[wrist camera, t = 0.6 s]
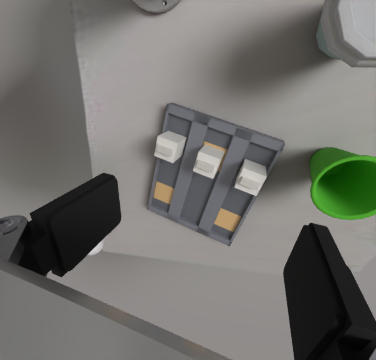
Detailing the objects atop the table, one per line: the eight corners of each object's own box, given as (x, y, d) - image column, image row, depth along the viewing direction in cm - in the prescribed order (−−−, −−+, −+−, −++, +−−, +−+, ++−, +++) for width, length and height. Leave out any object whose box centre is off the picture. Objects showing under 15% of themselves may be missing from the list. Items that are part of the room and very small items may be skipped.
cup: (314, 193, 36) (334, 230, 27) (286, 156, 35) (296, 181, 26) (370, 167, 32) (417, 200, 22) (340, 123, 30) (376, 140, 21)
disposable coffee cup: (418, -11, 23) (625, -137, 10) (354, 86, 28) (433, 85, 15) (328, -32, 24) (405, -164, 11) (283, 63, 30) (301, 46, 17)
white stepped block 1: (164, 148, 40) (152, 157, 36) (168, 130, 38) (155, 136, 34) (181, 155, 40) (171, 164, 35) (186, 137, 38) (176, 144, 33)
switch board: (152, 204, 51) (147, 209, 48) (172, 102, 38) (167, 103, 35) (230, 239, 47) (229, 246, 45) (283, 140, 34) (285, 144, 32)
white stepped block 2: (199, 162, 39) (191, 172, 34) (205, 144, 37) (197, 152, 32) (218, 169, 38) (212, 181, 34) (224, 151, 36) (219, 161, 32)
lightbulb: (105, 214, 58) (76, 238, 49) (121, 225, 58) (95, 252, 49) (100, 225, 62) (72, 250, 52) (115, 236, 61) (90, 263, 52)
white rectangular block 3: (236, 176, 38) (233, 189, 33) (244, 158, 36) (242, 169, 31) (256, 184, 37) (256, 198, 32) (265, 166, 35) (266, 178, 30)
